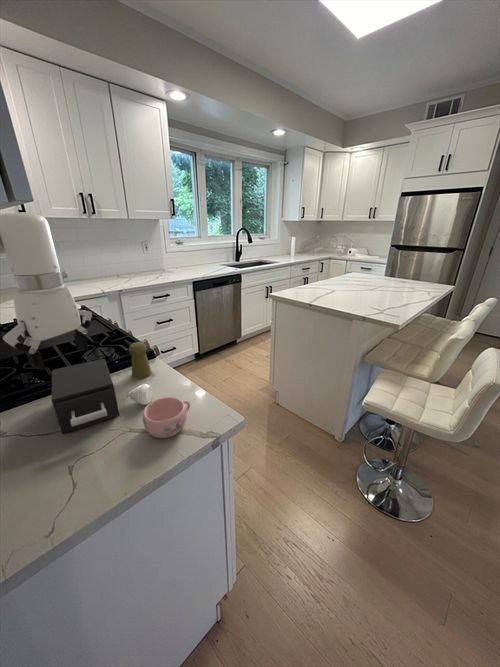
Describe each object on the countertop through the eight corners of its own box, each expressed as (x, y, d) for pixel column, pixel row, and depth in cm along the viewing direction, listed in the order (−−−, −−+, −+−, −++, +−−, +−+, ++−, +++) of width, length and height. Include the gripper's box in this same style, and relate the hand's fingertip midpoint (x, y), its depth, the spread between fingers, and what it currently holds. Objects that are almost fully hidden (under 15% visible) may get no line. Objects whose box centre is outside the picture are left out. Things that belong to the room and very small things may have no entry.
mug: (159, 451, 61) (155, 429, 58) (137, 429, 67) (133, 409, 65) (202, 423, 69) (201, 404, 66) (179, 406, 75) (177, 388, 73)
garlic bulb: (133, 396, 79) (130, 379, 77) (154, 396, 79) (151, 380, 77) (124, 408, 74) (121, 391, 72) (146, 408, 74) (144, 391, 72)
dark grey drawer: (121, 427, 66) (115, 400, 63) (64, 446, 60) (55, 417, 57) (108, 388, 81) (103, 364, 78) (63, 400, 75) (55, 376, 72)
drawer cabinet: (119, 415, 72) (113, 383, 68) (62, 433, 65) (51, 400, 61) (110, 386, 84) (104, 358, 80) (61, 399, 77) (52, 369, 74)
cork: (135, 381, 86) (130, 349, 82) (129, 373, 91) (123, 343, 86) (154, 375, 90) (150, 344, 86) (147, 367, 94) (143, 338, 90)
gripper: (70, 272, 63) (87, 341, 70) (-25, 288, 49) (7, 372, 55) (92, 275, 60) (108, 346, 67) (-2, 293, 46) (29, 381, 52)
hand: (62, 358), depth 61 cm, fingers open, 9 cm apart
